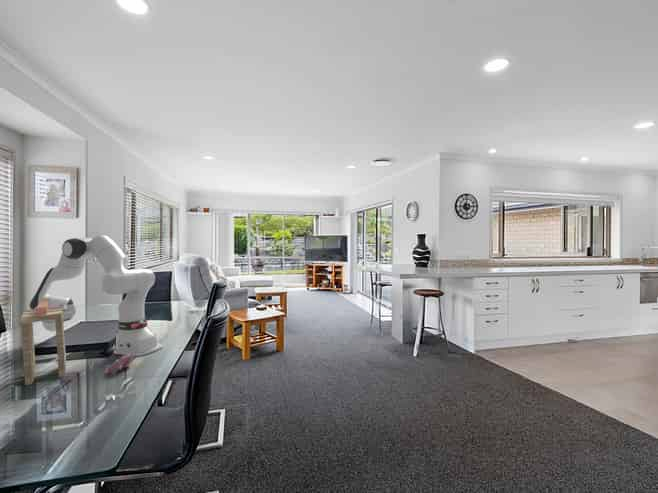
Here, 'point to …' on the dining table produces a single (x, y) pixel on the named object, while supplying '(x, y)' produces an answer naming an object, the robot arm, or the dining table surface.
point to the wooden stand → (29, 340)
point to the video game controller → (121, 363)
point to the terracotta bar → (43, 306)
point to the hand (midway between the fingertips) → (49, 307)
